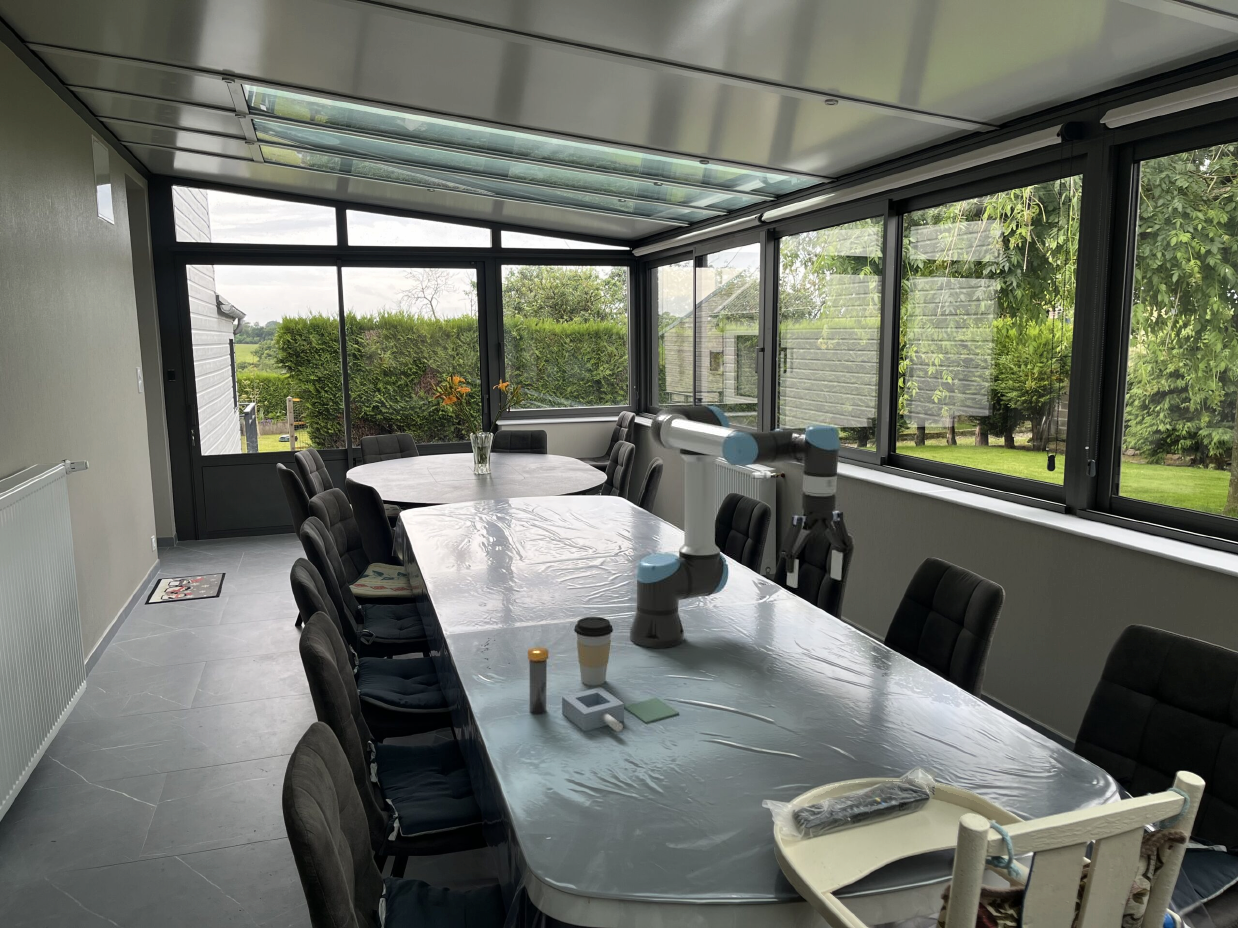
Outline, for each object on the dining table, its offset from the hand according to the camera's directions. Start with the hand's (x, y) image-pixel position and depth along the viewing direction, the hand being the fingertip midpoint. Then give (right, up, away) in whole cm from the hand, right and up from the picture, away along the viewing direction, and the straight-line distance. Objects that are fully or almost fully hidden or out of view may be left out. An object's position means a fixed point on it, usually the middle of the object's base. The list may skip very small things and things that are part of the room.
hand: (814, 582), depth 195 cm
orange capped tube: (-64, -28, -7) cm, 70 cm away
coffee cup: (-52, -26, +9) cm, 59 cm away
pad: (-38, -28, -7) cm, 48 cm away
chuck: (-50, -29, -13) cm, 59 cm away
